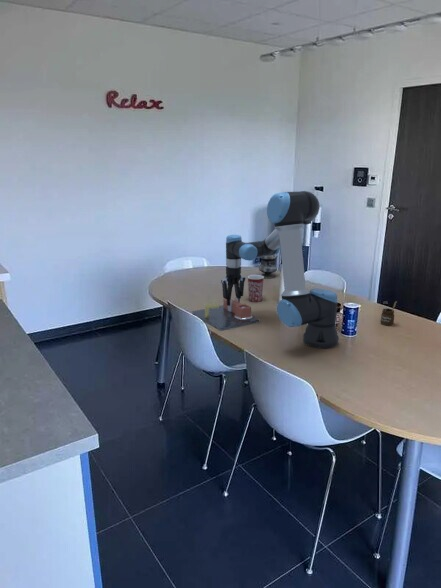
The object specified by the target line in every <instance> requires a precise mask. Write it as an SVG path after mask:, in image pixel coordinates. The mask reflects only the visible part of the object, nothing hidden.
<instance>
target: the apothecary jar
mask: <svg viewBox="0 0 441 588" xmlns="http://www.w3.org/2000/svg"><path fill="white" fill-rule="evenodd" d="M259 258H260V265H259V266H258V270H259V271H260V272H261V273H263V274H260V275H261V276H264V279H274V278H276V275H275V274H273V273H275V272H276V271H277V270H278V267H277V265H276V259H278V254H276V255H272V256H263V257H259Z"/></svg>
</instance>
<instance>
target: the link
mask: <svg viewBox="0 0 441 588" xmlns="http://www.w3.org/2000/svg"><path fill="white" fill-rule="evenodd" d="M231 300H232V312H233V313H235V315H236V316H238V317H240V318H241V319H242V318H247V317H251V315H252V306H250V305H249V304H246V303H241V302H240V303H239V302H237V301H234V299H232V298H231ZM222 303H223V304H222V305H223V308H225V309H227V310H228V305H227V299H225V298H223V301H222ZM242 306H245V308H241V307H242Z"/></svg>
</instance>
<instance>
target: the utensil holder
mask: <svg viewBox="0 0 441 588" xmlns="http://www.w3.org/2000/svg"><path fill="white" fill-rule="evenodd" d="M397 302H398V301H396V300H395V301H394V303H393V306H392V308H389V307H385V306H383V309H382V310H381V311H382V312H381V314H380V324H381V325H383V326H387V327H390V326H393V325H394V321H395V310H394V308H395V307H396V304H397ZM384 303H387V301H384Z"/></svg>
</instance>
